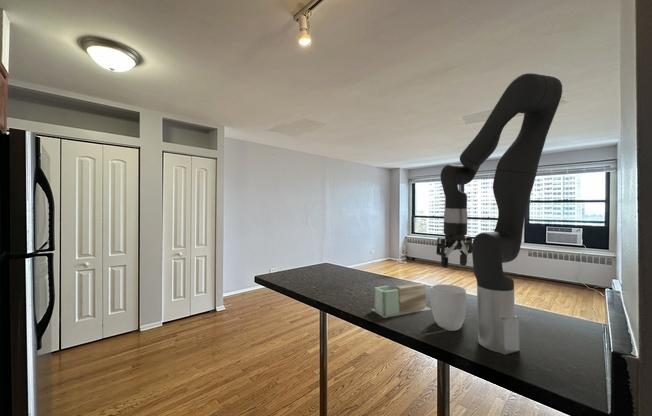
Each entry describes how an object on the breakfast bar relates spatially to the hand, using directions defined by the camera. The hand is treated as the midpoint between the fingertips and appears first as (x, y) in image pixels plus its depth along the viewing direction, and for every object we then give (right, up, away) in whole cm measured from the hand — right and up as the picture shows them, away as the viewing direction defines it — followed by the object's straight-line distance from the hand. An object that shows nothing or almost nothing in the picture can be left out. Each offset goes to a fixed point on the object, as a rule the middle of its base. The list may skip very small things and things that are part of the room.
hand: (454, 266), depth 94 cm
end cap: (-22, -20, +8) cm, 31 cm away
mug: (-3, -20, -4) cm, 21 cm away
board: (-16, -20, +11) cm, 28 cm away
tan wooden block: (-12, -20, +12) cm, 26 cm away
